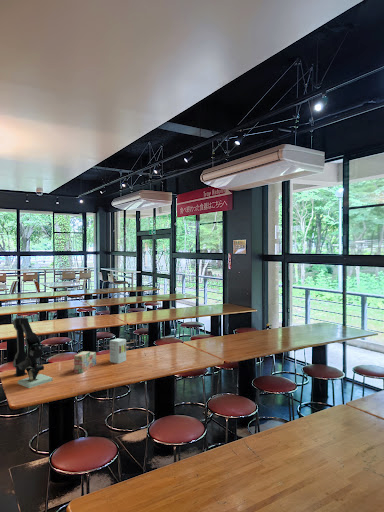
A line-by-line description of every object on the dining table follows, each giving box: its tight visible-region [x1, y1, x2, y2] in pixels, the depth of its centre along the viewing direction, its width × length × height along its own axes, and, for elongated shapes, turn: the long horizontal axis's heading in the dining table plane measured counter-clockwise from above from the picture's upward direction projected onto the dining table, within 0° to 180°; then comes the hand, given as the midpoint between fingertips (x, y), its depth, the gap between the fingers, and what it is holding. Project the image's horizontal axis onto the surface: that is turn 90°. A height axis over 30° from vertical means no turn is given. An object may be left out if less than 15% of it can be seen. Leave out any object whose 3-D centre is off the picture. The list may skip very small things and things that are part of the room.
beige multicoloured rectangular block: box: [73, 350, 97, 374], centre depth 254 cm, size 21×6×12 cm, turn 169°
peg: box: [28, 369, 36, 382], centre depth 225 cm, size 4×4×8 cm
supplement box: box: [109, 337, 127, 364], centre depth 271 cm, size 10×9×17 cm
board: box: [17, 373, 53, 389], centre depth 227 cm, size 14×16×2 cm
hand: (32, 379), depth 225 cm, fingers closed on peg, 4 cm apart
